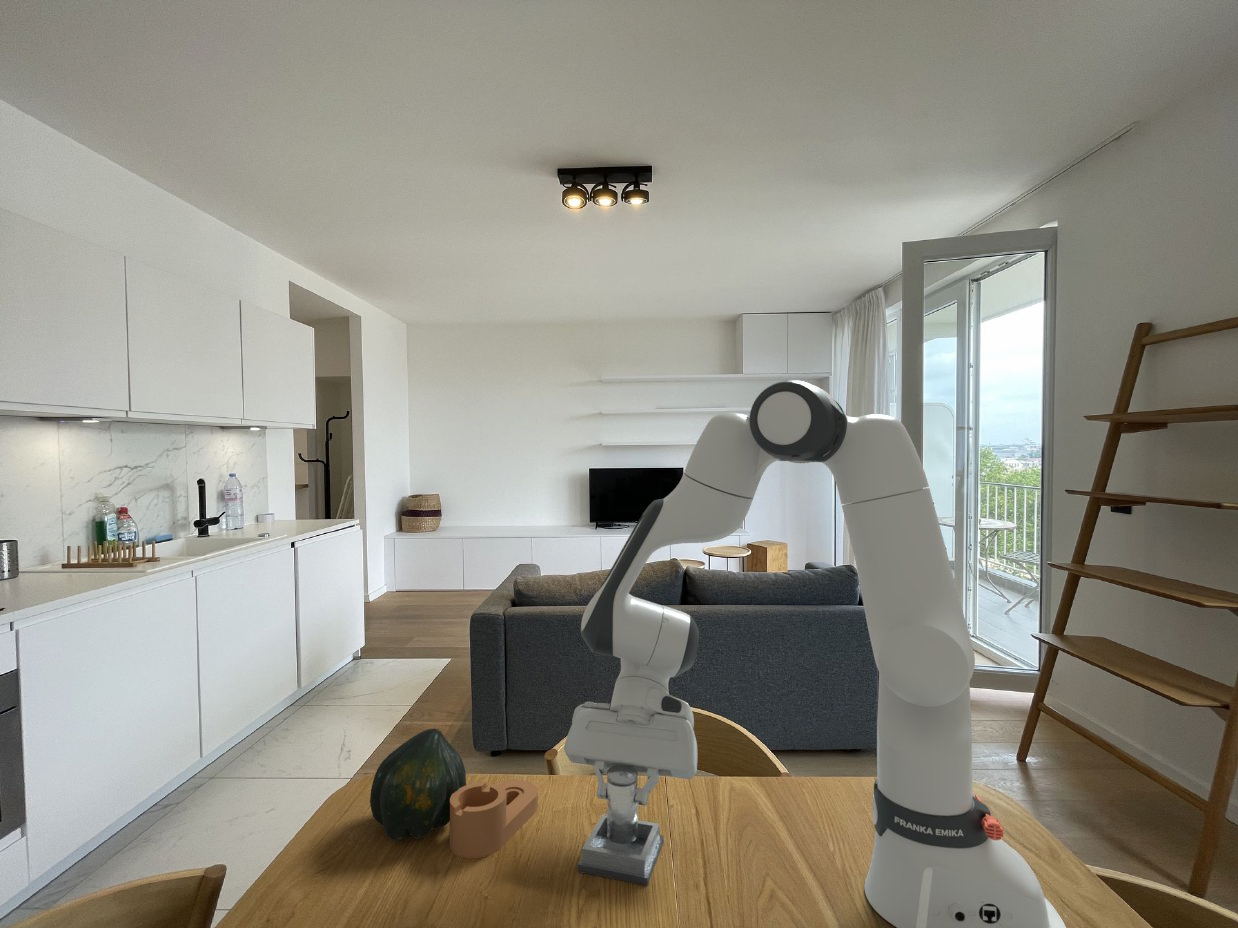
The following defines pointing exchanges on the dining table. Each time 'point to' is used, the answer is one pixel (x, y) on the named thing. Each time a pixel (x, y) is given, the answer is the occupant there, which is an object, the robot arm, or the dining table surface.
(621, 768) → the upright metal cylinder
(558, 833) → the dining table surface
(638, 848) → the square open tray
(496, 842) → the bracket
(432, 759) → the squash
